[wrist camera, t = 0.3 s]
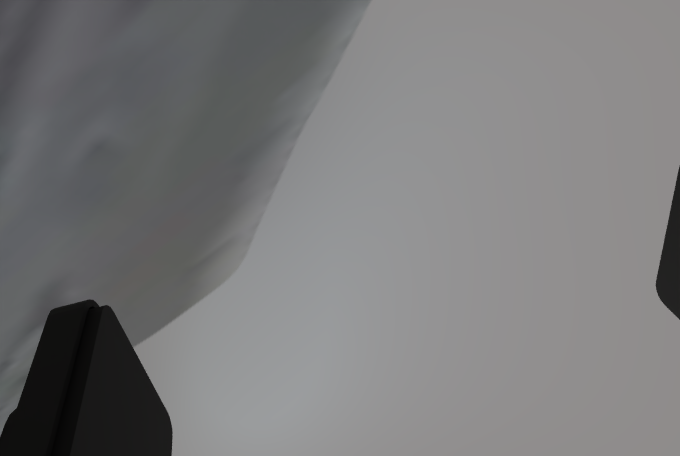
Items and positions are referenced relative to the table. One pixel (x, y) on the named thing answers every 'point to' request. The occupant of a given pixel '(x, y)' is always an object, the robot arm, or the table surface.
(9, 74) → the table surface
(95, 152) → the table surface
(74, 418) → the robot arm
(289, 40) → the table surface
